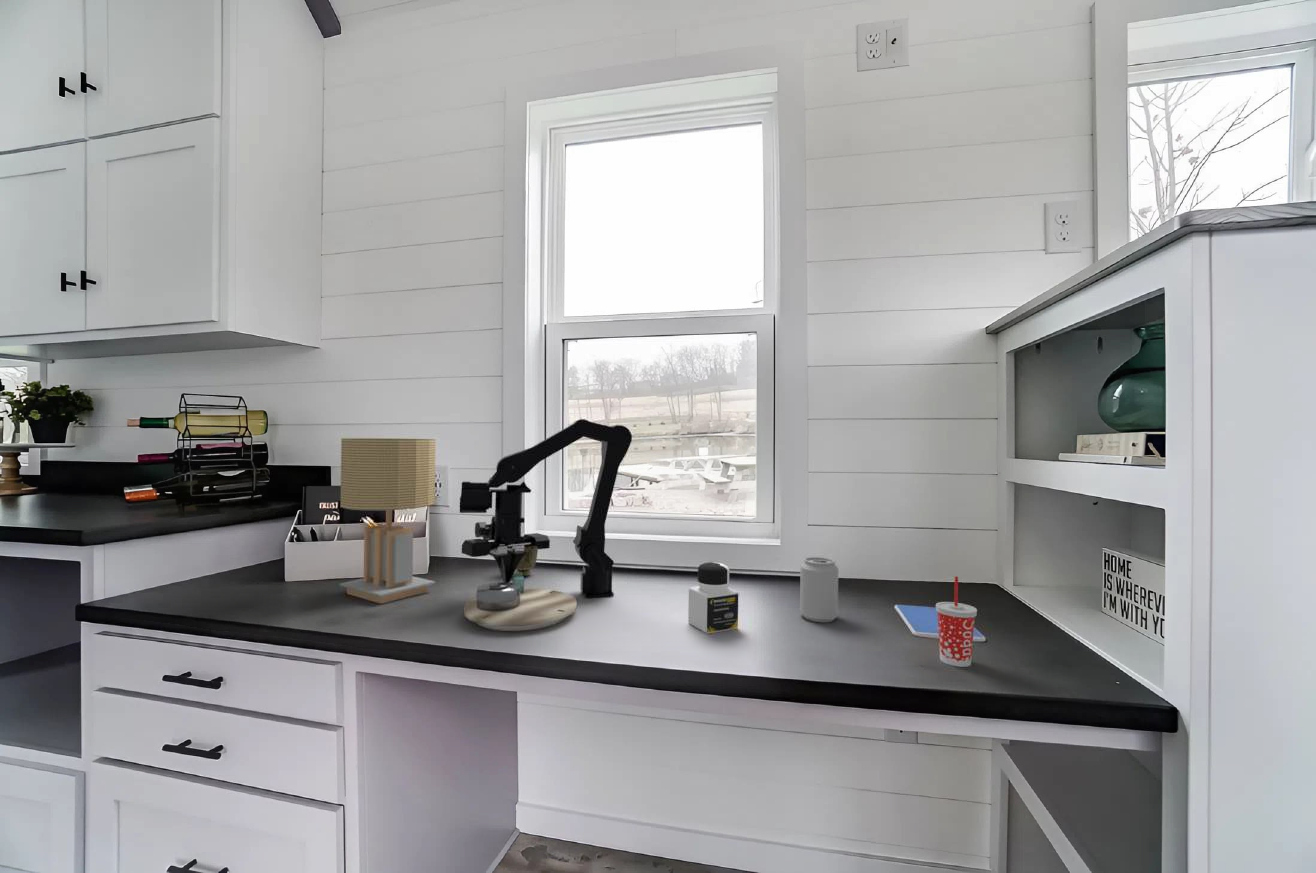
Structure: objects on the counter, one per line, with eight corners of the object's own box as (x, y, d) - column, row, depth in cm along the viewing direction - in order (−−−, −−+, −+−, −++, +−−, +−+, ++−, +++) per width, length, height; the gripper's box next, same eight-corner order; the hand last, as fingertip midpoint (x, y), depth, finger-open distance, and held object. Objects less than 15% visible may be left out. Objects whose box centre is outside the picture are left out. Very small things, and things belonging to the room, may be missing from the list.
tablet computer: (893, 609, 125) (893, 603, 125) (955, 613, 122) (956, 607, 122) (913, 639, 106) (913, 631, 106) (987, 645, 103) (987, 638, 103)
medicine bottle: (707, 634, 106) (707, 569, 106) (687, 623, 112) (688, 562, 112) (738, 629, 109) (739, 566, 109) (717, 618, 115) (718, 559, 115)
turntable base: (560, 600, 126) (560, 593, 126) (573, 626, 109) (573, 618, 109) (474, 606, 121) (474, 599, 121) (474, 634, 104) (474, 627, 104)
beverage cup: (947, 668, 91) (948, 581, 91) (927, 654, 97) (928, 572, 97) (984, 668, 92) (985, 581, 92) (962, 654, 98) (963, 572, 98)
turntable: (597, 602, 120) (597, 583, 120) (527, 634, 100) (528, 611, 100) (516, 588, 130) (517, 570, 130) (439, 614, 110) (439, 593, 110)
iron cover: (528, 602, 116) (529, 583, 116) (499, 613, 108) (499, 592, 108) (497, 597, 119) (497, 577, 119) (467, 607, 112) (467, 586, 112)
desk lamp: (451, 590, 133) (453, 439, 133) (371, 610, 117) (373, 439, 117) (401, 578, 144) (403, 438, 144) (321, 595, 127) (323, 438, 127)
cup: (541, 572, 152) (542, 542, 152) (532, 579, 144) (533, 547, 144) (514, 571, 152) (514, 541, 152) (504, 578, 145) (504, 546, 145)
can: (840, 615, 118) (840, 557, 118) (835, 625, 111) (835, 564, 112) (803, 610, 121) (804, 553, 121) (796, 620, 115) (797, 560, 115)
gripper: (527, 506, 138) (525, 571, 138) (452, 511, 126) (449, 582, 125) (552, 511, 130) (550, 580, 130) (474, 517, 118) (471, 592, 117)
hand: (506, 583), depth 126 cm, fingers closed
